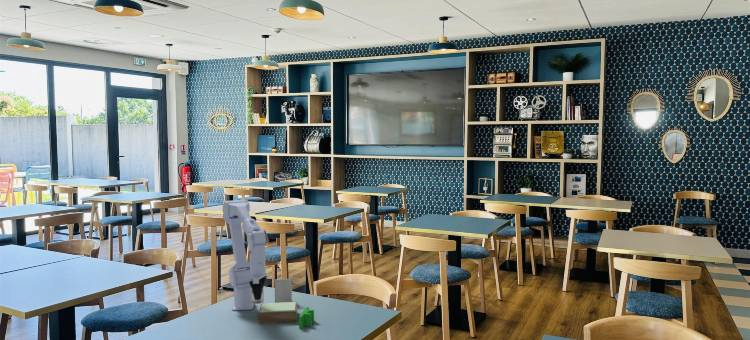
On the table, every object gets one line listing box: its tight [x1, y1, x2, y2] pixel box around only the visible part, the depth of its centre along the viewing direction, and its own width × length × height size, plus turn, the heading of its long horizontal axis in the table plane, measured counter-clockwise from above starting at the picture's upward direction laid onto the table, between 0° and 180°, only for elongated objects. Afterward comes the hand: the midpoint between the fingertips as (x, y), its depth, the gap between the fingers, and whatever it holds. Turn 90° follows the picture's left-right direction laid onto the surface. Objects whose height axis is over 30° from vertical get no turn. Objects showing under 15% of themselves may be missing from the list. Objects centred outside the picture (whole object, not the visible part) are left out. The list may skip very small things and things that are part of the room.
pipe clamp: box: [298, 306, 315, 329], centre depth 200 cm, size 11×4×5 cm, turn 174°
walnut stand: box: [257, 301, 298, 324], centre depth 206 cm, size 11×14×4 cm
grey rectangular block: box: [274, 278, 293, 303], centre depth 225 cm, size 4×7×10 cm, turn 95°
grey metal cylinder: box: [251, 287, 265, 305], centre depth 204 cm, size 4×4×5 cm
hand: (258, 297), depth 204 cm, fingers closed on grey metal cylinder, 4 cm apart
